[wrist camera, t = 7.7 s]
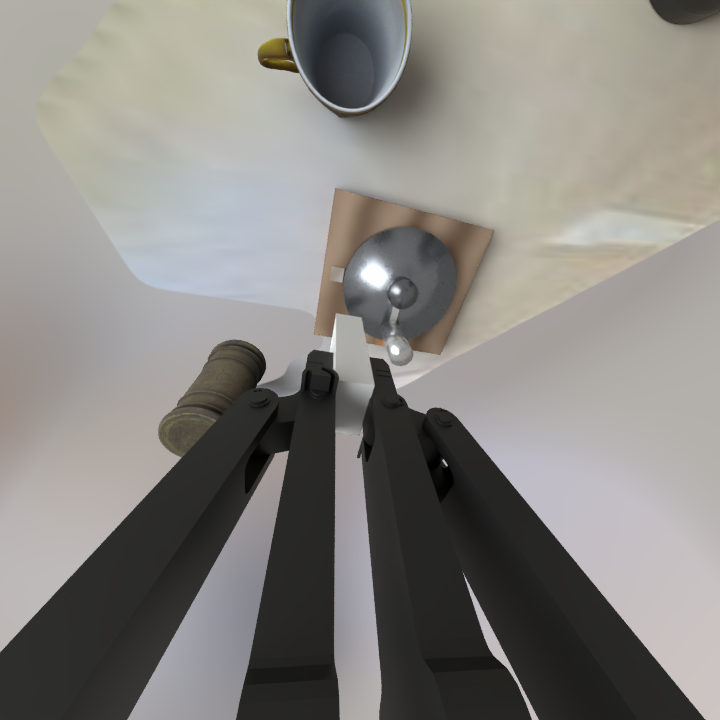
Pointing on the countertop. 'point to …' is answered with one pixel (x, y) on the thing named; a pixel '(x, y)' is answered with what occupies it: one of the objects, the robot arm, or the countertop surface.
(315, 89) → the ceramic cup
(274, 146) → the countertop surface
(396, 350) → the dial
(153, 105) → the countertop surface
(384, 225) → the stand
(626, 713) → the robot arm
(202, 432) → the container
